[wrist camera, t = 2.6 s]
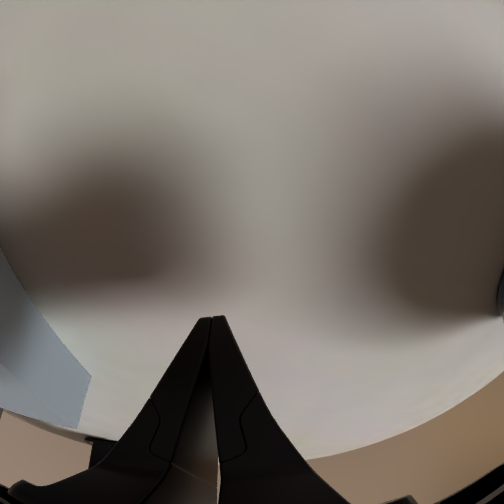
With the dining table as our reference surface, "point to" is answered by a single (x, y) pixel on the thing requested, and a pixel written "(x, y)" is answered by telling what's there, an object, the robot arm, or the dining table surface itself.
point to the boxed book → (35, 360)
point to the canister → (501, 298)
